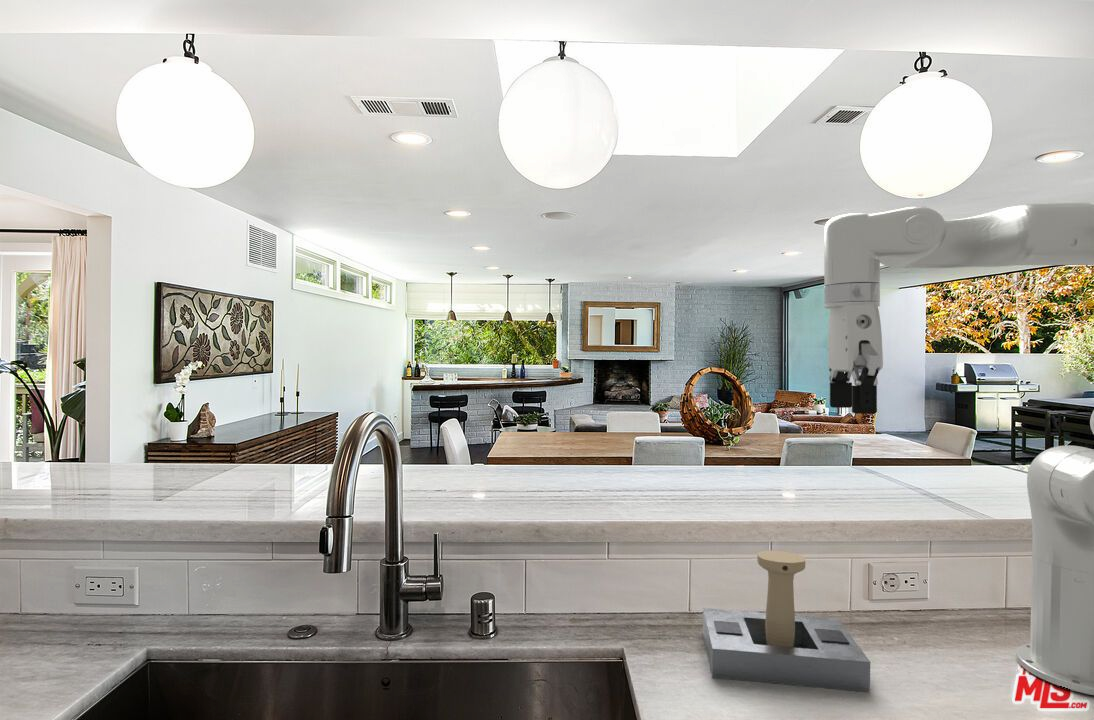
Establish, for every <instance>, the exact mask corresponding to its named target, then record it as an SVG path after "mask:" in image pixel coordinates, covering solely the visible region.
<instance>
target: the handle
mask: <svg viewBox="0 0 1094 720" xmlns="http://www.w3.org/2000/svg"><path fill="white" fill-rule="evenodd" d="M756 561H757V564H758V565H759V566H760V567H761V568H762V569H764V570H766V571H767V577H768V581H767V582H768V583H767V594H766V595H767V596H766V606H765V613H766V619H765V631H766V642H767V645H770V646H782V647H793V645H794V636H795V615H796V614H795V597H794V596H795V595H794V594H795V593H794V591H795V590H794V578H795V577H794V576H795V575H796V574H797V573H800V572H802V571H804V570H805V569H806V558H805V557H804V556H803V555H801V554H798V553H795V552H789V551H780V550H778V551H777V550H763V551H762V550H761V551H758V552H757V560H756Z"/></svg>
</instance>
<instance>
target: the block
mask: <svg viewBox="0 0 1094 720" xmlns="http://www.w3.org/2000/svg"><path fill="white" fill-rule="evenodd" d="M765 619H766V612H759V611H748V610H747V611H746V610H736V609H735V610H734V609H721V608H706V607H705V608H704V607H702V637H703V641H704V646H705V650H706V655H708V656H707V660H708V665H709V669H710V674H711V678H712V679H724V680H733V681H735V680H736V681H744V682H754V683H755V682H756V683H768V684H776V685H787V686H788V685H789V686H796V687H797V686H798V687H808V688H819V689H828V690H829V689H830V690H839V691H840V690H841V691H853V692H861V693H871V660H870V659H869V658H868V657H867V655H866V654H865V652H864V651H863V650H862V648H861V647H860V645H858V643H857V642H856V640H855V639H854V638H853V636H852V634H850V632H849V631H848V629H847V628H846V627H845V626H844V624H843V623H842V622H841V620H840V619H839V617H837V618H836V617H828V616H827V617H825V616H814V615H813V616H811V615H798V614H795V636H794V645H793V647H782V646H770V645H767V642H766V631H765Z"/></svg>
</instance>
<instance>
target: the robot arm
mask: <svg viewBox="0 0 1094 720" xmlns="http://www.w3.org/2000/svg"><path fill="white" fill-rule="evenodd" d="M823 230H824V231H823V233H824V234H823V235H824V236H823V237H824V238H823V240H824V241H823V245H824V246H823V248H824V249H823V250H824V251H823V253H824V254H823V257H824V258H823V259H824V261H823V262H824V264H823V266H824V268H823V269H824V270H823V271H824V273H823V274H824V278H823V279H824V280H823V281H824V283H823V285H824V287H823V288H824V293H823V295H824V298H823V299H824V304H823V305H824V309H828V310H829V316H828V317H829V318H828V330H827V331H828V332H827V333H828V334H827V362H828V363H827V364H828V367H829V369H828V370H829V372H830V373H829V377H828V379H829V407H830V408H845V409H846V408H848V409H849V408H850V409H851V412H852V413H853V414H861V415H862V414H865V415H866V414H869V415H872V414H874V415H875V414H876V413H877V412H878V398H877V397H878V383H879V380H878V377H877V376H878V375H879V372H880V371H881V370H882V369H883V367H884V360H883V359H884V357H883V355H884V354H883V337H882V323H881V317H880V316H881V315H880V312H879V311H880V310H879V307H881V303H880V302H881V267H880V266H881V265H883V266H884V267H889V268H892V269H955V268H958V269H959V268H978V267H979V268H980V267H981V268H993V267H994V268H995V267H996V268H997V267H999V268H1000V267H1011V266H1012V267H1013V266H1094V202H1093V201H1092V202H1088V201H1087V202H1063V203H1062V202H1060V203H1059V202H1058V203H1057V202H1056V203H1054V202H1053V203H1025V204H1019V205H1013V206H1009V207H1004V208H1000V209H997V210H993V211H991V212H988V213H983V214H980V215H979V214H978V215H975V216H970V217H965V218H957V219H950V220H949V219H948V220H946V219H944V217H943V216H942V215H941V213H939V212H938V211H937V210H935V209H932V208H930V207H927V206H909V207H908V206H907V207H904V208H903V207H902V208H899V209H894V210H888V211H884V212H883V211H882V212H877V213H876V212H875V213H864V212H860V213H859V212H855V213H847V214H846V213H845V214H841V215H837V216H835V217H832V218H830V219H829V220H828V221H826V223H825V226H824V229H823ZM851 377H852V380H853V382H854V385H853V382H850V380H851ZM1089 425H1090V430H1091V432H1092V434H1093V435H1094V410H1092V412H1091V415H1090V420H1089ZM1026 476H1027V477H1026V485H1027V486H1026V489H1027V496H1028V502H1029V508H1030V514H1031V525H1032V526H1031V528H1032V529H1031V531H1032V532H1031V533H1032V541H1031V542H1032V543H1031V544H1032V547H1031V550H1032V551H1031V585H1030V586H1031V587H1030V588H1031V589H1030V592H1031V593H1030V595H1031V596H1030V597H1031V598H1030V631H1029V633H1030V637H1029V638H1030V639H1029V640H1030V641H1029V643H1027V644H1022V645H1019V646H1018V647H1017V649H1016V651H1015V652H1016V653H1015V658H1016V661H1017V662H1018V664H1019V665H1020V666H1021V667H1023V668H1024V669H1025V670H1026V671H1028V672H1029V673H1030V674H1032V675H1034V676H1036V677H1037V678H1039V679H1041V680H1043V681H1046V682H1048V683H1050V684H1053V685H1055V686H1058V687H1060V686H1062V687H1061V688H1063V687H1065V688H1064V689H1066V688H1068V689H1067V690H1069V689H1070V691H1072V692H1073V691H1074V692H1077V693H1081V694H1084V695H1085V694H1086V695H1088V696H1089V695H1090V696H1094V449H1092V448H1089V447H1085V446H1079V445H1058V446H1054V447H1049V448H1048V449H1045V450H1044V451H1041V452H1040V453H1039V454H1038V455H1036V457H1035V458H1034V459H1033V460H1032V462H1031V463H1030V465H1029V467H1028V471H1027V475H1026Z"/></svg>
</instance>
